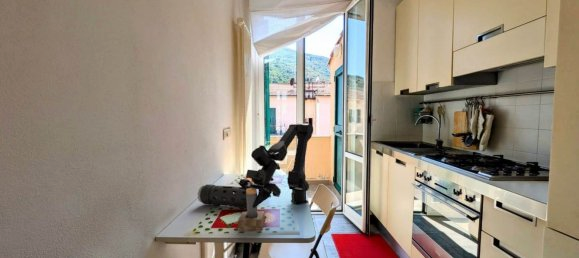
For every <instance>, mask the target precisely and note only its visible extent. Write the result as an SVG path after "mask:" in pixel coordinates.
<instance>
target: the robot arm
mask: <svg viewBox="0 0 579 258" xmlns="http://www.w3.org/2000/svg"><path fill="white" fill-rule="evenodd" d="M313 132H314V126H313V125H312V124H311V123H295V122H294V123H290V124H289V126H288V128H287V130H285V132H284V133H283V135H282V136H281V138H280V139H279V141H277V142H276V143H274V144H273V145H271V146H270V147H269V148H268V149H267V148H266V146H265V145H262V144H261V145H259V146H258V147H257V148H255V149H253V151H252V152H251V158H252V159H253V160H254V161H255V162H256V163H257V164H258V166H259V167H261V168H258V170H254V169H247V172H246V174H245V175H246V176H245V178H246V179H245V178H241V179H240V180H239V182H238V185H239V187H242V188H243V189H244V190H246V189H248V188H256V189H257V190H258V191H257V197H256V199H255V202H254V204H253V208H255V207H257V208H258V206H260V205H261V204H263V202H265V201H266V200H268V199H269V198H271V197H272V196H273V197H277V198H279V197H280V196H281V193H282V191H281V188H280V187H279V186H278V185H277V184H276V183H272V182H273V181H274V178H273V176H274V174H275V172H276V171H277V170H278V171H279V170H281V166H280V163H278V162H282V161H284V160H285V158H286V156H287V155H288V148H289V146H290V145H291V143H292V142H293V141H294V139H295V138H296V139H297V144H296V149H295V156H294V163H293V168H292V169H291V170H288V172H287V173H288V174H287V178H286V181H287V186H288V189H289V190H291V199H290V202H292V203H293V204H295V205H300V204H304V203H308V202H309V200H308V199H307V191H308V190H309V189H310V184H309V183H308V181H307V180H306V173H305V171H304V169H305V160H306V156H307V155H306V154H307V148H308V142H309V141H310V139H311V138H312V136H313ZM250 179H251V180H250ZM244 205H245V206H247V198H245V204H244Z"/></svg>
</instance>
